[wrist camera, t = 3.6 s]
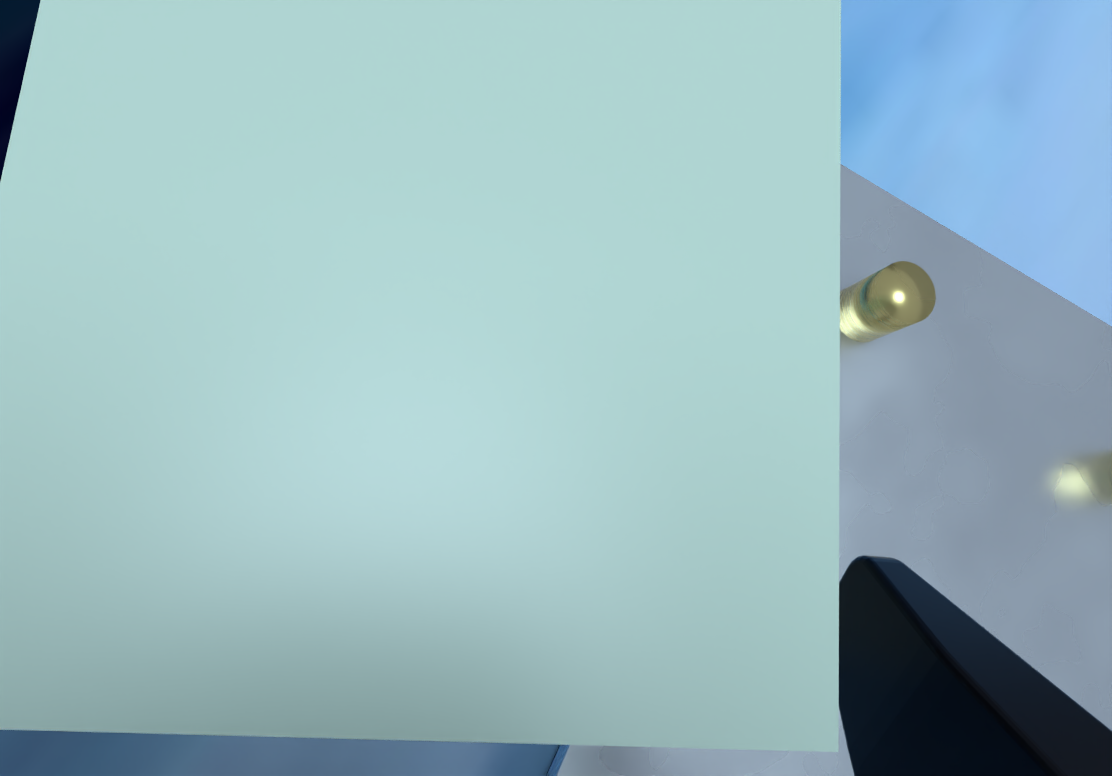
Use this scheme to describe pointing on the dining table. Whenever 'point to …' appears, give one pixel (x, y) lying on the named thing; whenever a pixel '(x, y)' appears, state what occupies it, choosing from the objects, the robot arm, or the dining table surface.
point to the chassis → (956, 461)
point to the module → (424, 372)
